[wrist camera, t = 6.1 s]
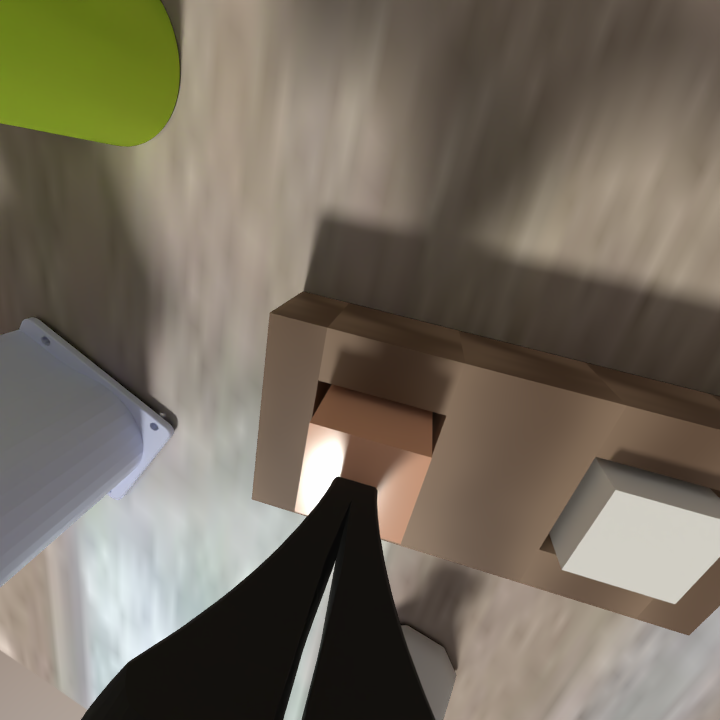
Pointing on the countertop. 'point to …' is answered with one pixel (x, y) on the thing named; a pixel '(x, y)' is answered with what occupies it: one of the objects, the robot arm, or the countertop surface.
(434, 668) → the flask
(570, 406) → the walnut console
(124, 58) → the soap dispenser
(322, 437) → the salmon pink cube
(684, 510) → the white cube
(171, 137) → the countertop surface
